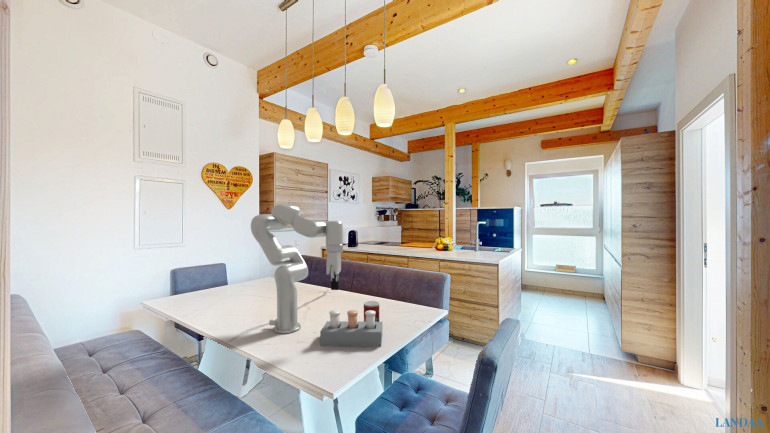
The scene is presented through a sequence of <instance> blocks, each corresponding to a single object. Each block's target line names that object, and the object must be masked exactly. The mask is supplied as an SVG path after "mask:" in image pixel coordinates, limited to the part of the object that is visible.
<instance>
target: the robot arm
mask: <svg viewBox="0 0 770 433" xmlns="http://www.w3.org/2000/svg"><path fill="white" fill-rule="evenodd" d="M288 226H290V227H292V229H293V230H294V231H295V232H296V233H297V234H299V235H301V236H304V237H306V238H313V239H314V238H323V237H325V252H326V275H327V276H328V275H330V290H331V291H338V290H339V289H340V284H339V283H340V282H339V281H340V280H339V277H340V275H339V274H340V272H342V253H343V251H344V239H343V237H344V236H343V235H344V234H343V232H344V230H343V229H344V228H343V227H344V225H343V222H342V221H340V220H325V219H324V220H309V219H308V218H306V216H305V213H304V212H303V211H302V210H300V208H299V207H298V206H297V205H296V204H289V203H279V204H276V205H274V206H273V207H272V209H271V213H263V214H256V215H255V216H253V218H251V222H250V231H251V234H252V235H253V236H252V237H253V238H254V239H255V240H256V242H257V243H258V244H259V246H260V248H261V249H262V251H263V253H264V255H265V257H266V259H267V260H268V261H269V263H270V264H271V265H272V266H275V267H276V266H278V267H277V268H276V269H275V271H274V282H275V285H276V319H269V322H268V323H269V326H274V327H273V331H274V333H276V334H290V333H294V332H297V331H299V330H300V329H301V328H302V327H301V326H302V324H301V323H300V322H298V290H297V287H296V285H295V283H296V282H300V281H302V280H305V279H306V278H308V276H309V267H308V265H307V263H306V262H305V260H304V258H303V257H302V255H301V253H300V252H299V250H298V248H297V247H295V246H293V245H291V244H290V245H289V244H288V245H282V244H281V242H280V241H279V240H278V238H277V237H276V235H274V234H273V233H272V232H270V231H280V230H283V229H285V228H286V227H288Z"/></svg>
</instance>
